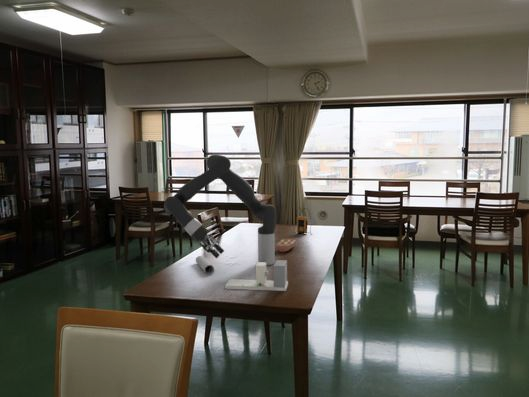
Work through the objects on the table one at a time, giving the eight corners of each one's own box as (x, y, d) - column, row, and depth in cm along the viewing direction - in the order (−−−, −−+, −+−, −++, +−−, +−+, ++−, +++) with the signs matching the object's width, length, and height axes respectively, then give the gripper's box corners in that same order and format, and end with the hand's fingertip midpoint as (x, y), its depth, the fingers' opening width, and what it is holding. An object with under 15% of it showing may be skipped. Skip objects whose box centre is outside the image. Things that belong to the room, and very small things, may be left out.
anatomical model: (283, 245, 294) (283, 238, 294) (297, 246, 291) (297, 238, 291) (273, 253, 273) (273, 245, 272) (289, 254, 270) (289, 246, 269)
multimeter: (315, 233, 335) (315, 206, 332) (309, 235, 326) (309, 208, 324) (298, 231, 343) (298, 205, 340) (292, 233, 334) (292, 207, 332)
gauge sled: (258, 280, 210) (258, 262, 209) (269, 281, 209) (268, 262, 208) (255, 285, 202) (255, 266, 201) (266, 286, 201) (266, 266, 200)
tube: (193, 256, 249) (202, 267, 226) (202, 253, 251) (212, 263, 228) (196, 265, 251) (206, 276, 227) (205, 261, 252) (216, 272, 229)
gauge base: (230, 282, 214) (229, 258, 213) (288, 284, 210) (288, 260, 208) (225, 288, 204) (224, 264, 203) (285, 290, 200) (285, 266, 199)
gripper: (197, 227, 200) (222, 252, 200) (205, 222, 214) (229, 245, 214) (186, 238, 202) (211, 263, 201) (195, 232, 216) (218, 256, 215)
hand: (220, 254), depth 208 cm, fingers open, 8 cm apart
